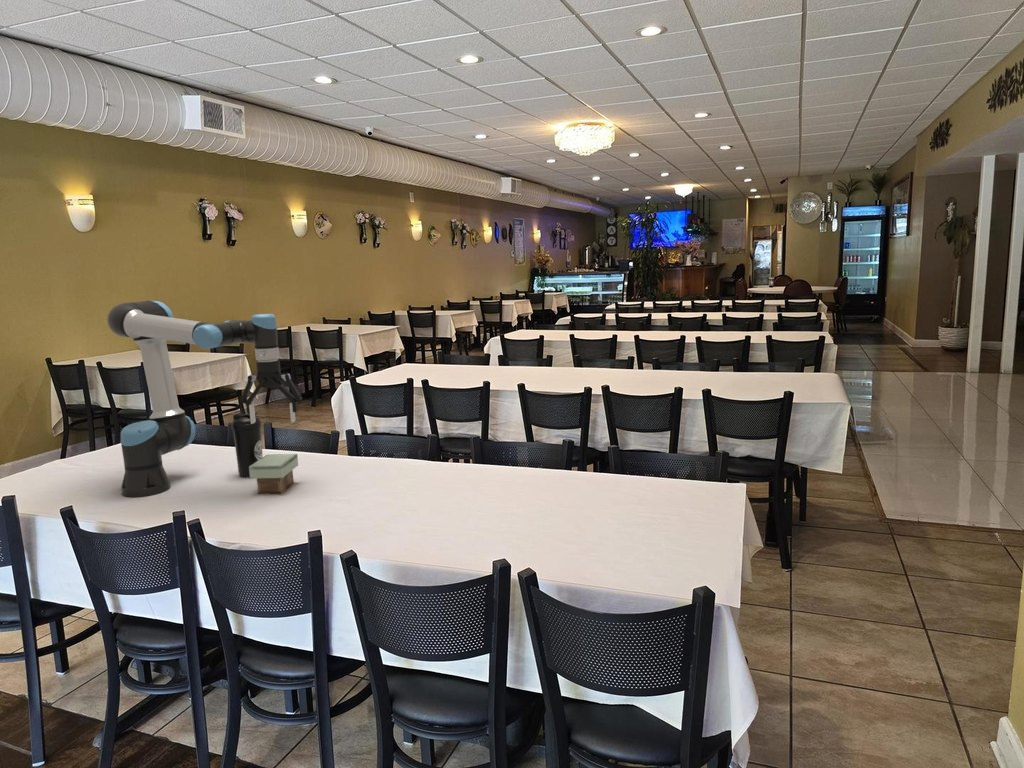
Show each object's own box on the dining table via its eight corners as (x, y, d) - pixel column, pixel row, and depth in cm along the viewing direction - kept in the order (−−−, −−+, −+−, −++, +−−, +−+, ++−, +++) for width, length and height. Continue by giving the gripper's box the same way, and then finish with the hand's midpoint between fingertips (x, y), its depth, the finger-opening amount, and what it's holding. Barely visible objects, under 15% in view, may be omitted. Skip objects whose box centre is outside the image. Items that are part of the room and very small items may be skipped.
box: (281, 493, 238) (278, 467, 237) (258, 494, 239) (255, 468, 237) (293, 482, 250) (291, 458, 248) (271, 483, 250) (269, 458, 249)
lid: (282, 477, 236) (281, 466, 235) (250, 478, 236) (248, 466, 236) (298, 465, 250) (297, 454, 250) (267, 465, 251) (266, 454, 250)
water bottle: (260, 478, 257) (254, 416, 253) (232, 479, 257) (225, 416, 253) (270, 470, 267) (264, 410, 263) (243, 470, 267) (237, 410, 263)
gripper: (226, 363, 235) (232, 425, 238) (301, 360, 235) (307, 423, 238) (234, 360, 242) (240, 420, 246) (308, 357, 242) (312, 418, 246)
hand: (273, 422), depth 242 cm, fingers open, 13 cm apart
